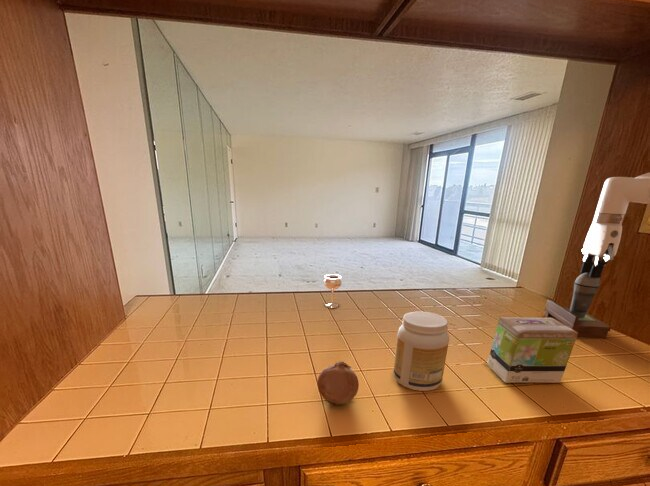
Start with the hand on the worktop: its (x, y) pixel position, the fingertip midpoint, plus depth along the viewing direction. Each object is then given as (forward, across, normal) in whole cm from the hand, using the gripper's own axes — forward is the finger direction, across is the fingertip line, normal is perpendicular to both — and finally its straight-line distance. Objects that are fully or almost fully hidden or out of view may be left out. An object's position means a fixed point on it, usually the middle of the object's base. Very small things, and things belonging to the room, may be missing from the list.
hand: (589, 274), depth 116 cm
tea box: (+19, -36, +33) cm, 53 cm away
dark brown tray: (+19, 0, 0) cm, 19 cm away
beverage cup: (+15, 0, 0) cm, 15 cm away
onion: (+19, -53, +82) cm, 100 cm away
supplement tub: (+19, -42, +62) cm, 77 cm away
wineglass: (+19, +10, +87) cm, 90 cm away
